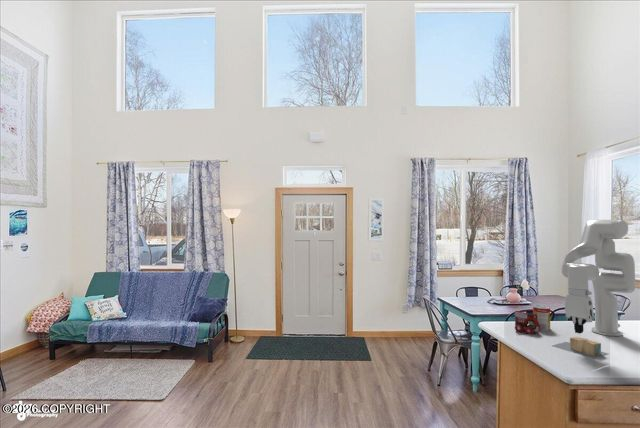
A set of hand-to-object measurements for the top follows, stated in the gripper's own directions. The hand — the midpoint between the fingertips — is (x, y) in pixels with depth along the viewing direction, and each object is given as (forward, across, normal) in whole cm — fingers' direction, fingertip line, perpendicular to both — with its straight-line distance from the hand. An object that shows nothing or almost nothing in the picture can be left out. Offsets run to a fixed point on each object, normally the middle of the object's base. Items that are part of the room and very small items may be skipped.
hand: (578, 332), depth 164 cm
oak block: (+5, +2, 0) cm, 6 cm away
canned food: (+8, +28, -18) cm, 34 cm away
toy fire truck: (+8, +28, -5) cm, 30 cm away
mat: (+8, 0, 0) cm, 8 cm away
